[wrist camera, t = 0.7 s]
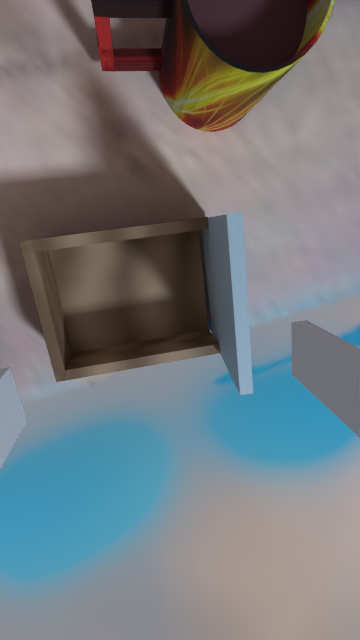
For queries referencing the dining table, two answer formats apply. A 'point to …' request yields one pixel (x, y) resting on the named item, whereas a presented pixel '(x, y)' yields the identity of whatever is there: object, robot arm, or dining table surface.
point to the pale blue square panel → (229, 295)
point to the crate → (120, 297)
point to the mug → (215, 50)
